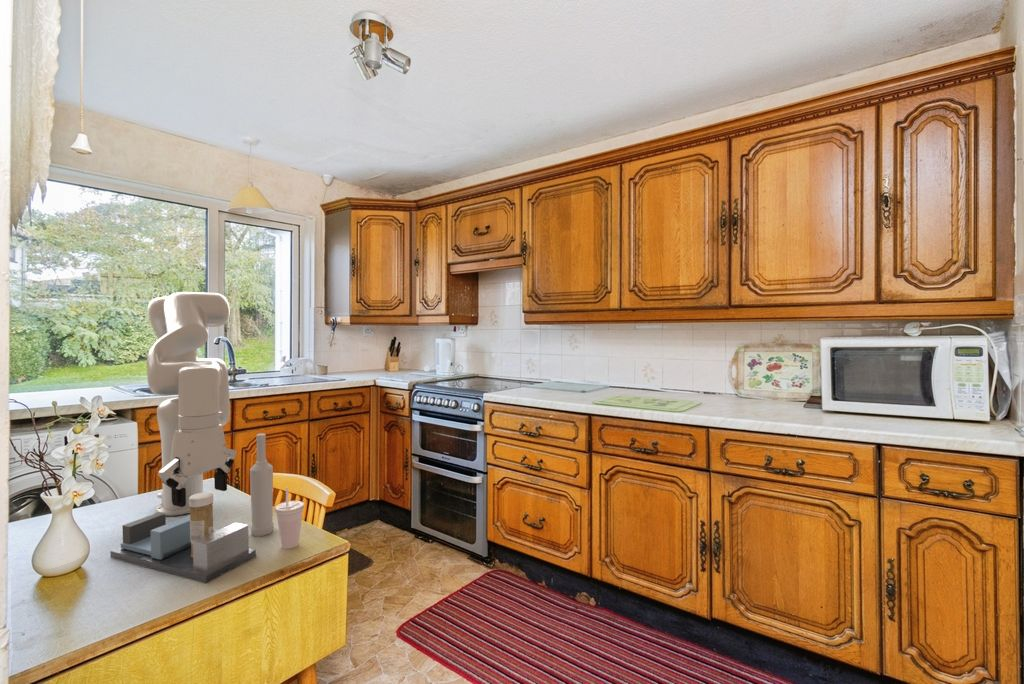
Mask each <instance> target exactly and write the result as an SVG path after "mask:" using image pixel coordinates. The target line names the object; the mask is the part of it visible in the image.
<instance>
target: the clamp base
mask: <svg viewBox="0 0 1024 684" xmlns="http://www.w3.org/2000/svg"><path fill="white" fill-rule="evenodd" d="M249 536H250V535H249V524H245V523H241V522H233V523H230V524H228V525H226V526H223V527H221V528H219V529H217V530H215V531H214V532H212V533H210V534H208V535H205V536H203V537H201V538H199V539H196V540H194V541H193V558H192V557H191V546H190V547H188V548H186V549H183V550H181V551H179V552H177V553H175V554H172V555H170V556H168V557H166V558H163V559H161V560H160V559H156V558H152V557H151V555H147V554H143V553H139V552H135V551H131V550H127V549H123V548H121V546H120V547H117V548H114V549H111V550H110V551H109V552H110V555H109V556H110V558H111V559H115V560H118V561H123V562H127V563H131V564H133V565H136V566H137V565H138V566H141V567H145V568H147V569H148V568H149V569H153V570H156V571H159V572H163V573H167V574H170V575H175V576H178V577H182V578H186V579H190V580H193V581H197V582H200V583H205V584H207V583H209V582H212V581H213V580H215V579H217V578H219V577H221V576H222V575H224V574H226V573H228V572H230V571H231V570H234V569H235V568H237V567H240V566H241V565H242V564H243V565H244V564H245V563H246V562H248V561H250V560H253V558H256V557H257V550H256V549H253V548H250V547H249V546H250V543H249V541H250V540H249V539H250V537H249Z"/></svg>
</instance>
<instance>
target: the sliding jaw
mask: <svg viewBox="0 0 1024 684" xmlns="http://www.w3.org/2000/svg"><path fill="white" fill-rule="evenodd" d="M166 519H167V517H166V514H164V513H159V512H158V513H154V514H151V515H150V514H149V515H148V516H144V517H142V518H138V519H137V520H133V521H130V522H128V523H125V524H122V542H120V547H121V548H123V549H127V550H131V551H135V552H139V553H143V554H147V555H151V557H152V558H156V559H160V560H161V559H163V558H166V557H168V556H170V555H172V554H175V553H177V552H179V551H181V550H183V549H186V548H188V547H190V546H191V540H190V514H189V515H187V516H184V517H182V518H179V519H177V520H173V521H171V522H169V523H166V522H167V520H166Z"/></svg>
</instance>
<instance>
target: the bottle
mask: <svg viewBox="0 0 1024 684" xmlns="http://www.w3.org/2000/svg"><path fill="white" fill-rule="evenodd" d="M266 436H267V435H266V433H257V434H256V437H255V438H256V440H255V441H256V461H255V464H253V466H251V468H250V469H249V476H250V477H249V478H250V479H249V480H250V507H251V508H250V509H251V526H250V532H251V535H252V536H253V537H264V536H267V535H270V534H272V533H273V531H274V526H275V524H274V521H273V518H274V517H273V512H274V511H273V507H274V506H273V505H274V501H273V500H274V496H273V494H274V488H273V487H274V485H273V483H274V466H273V465H272V464H270V463H269V462H268V460H267V456H266V455H267V454H266V453H267V452H266V449H267V447H266V445H267V444H266V442H267V441H266V439H267V438H266Z"/></svg>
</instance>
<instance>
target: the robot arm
mask: <svg viewBox="0 0 1024 684" xmlns="http://www.w3.org/2000/svg"><path fill="white" fill-rule="evenodd" d="M147 307H148V308H147V309H148V310H147V311H148V318H149V322H150V324H151V327H152V330H153V332H154V333H155V335H156V337H157V340H156V341H155V343H154V344H152V346H151V347H150V349H149V351H148V353H147V357H146V373H147V384H148V387H149V390H150V391H151V392H152V393H153V394H154V395H156V396H159V397H163V396H164V397H165V396H168V397H169V396H177V397H173V398H169V399H166V400H163V401H162V402H161V403H159V404H158V406H157V408H156V419H157V424H158V429H159V434H160V445H161V469H160V470H159V471H158V472H157V475H158V477H159V478H160V479H161V481H162V492H158V494H156V495H157V496H156V497H157V498H158V499H161V503H159V505H157V506H156V508H155V511H156V513H158V512H159V513H164V514H166V516H167V517H168V516H170V517H171V516H173V517H174V516H180V515H181V516H182V515H187V514H190V506H189V497H190V496H192V495H194V494H198V493H203V492H204V473H208V472H212V471H214V470H216V471H215V472H214V490H215V491H216V490H217V491H222V492H225V491H227V490H228V473H230V472H231V467H232V465H234V462H235V461H234V460H235V458H236V455H237V453H238V452H237V450H236V449H232V448H229V447H227V445H226V438H225V432H224V428H223V426H226V425H227V424H228V423H229V421H230V418H231V403H230V401H231V399H230V387H229V386H230V385H229V373H228V372H229V371H228V367H227V364H226V363H225V361H224V360H223V359H221V358H215V357H206V358H203V357H202V358H199V356H198V349H199V348H201V347H202V346H204V345H205V344H206V343H207V342H208V339H209V331H208V328H215V327H216V328H217V327H220V326H224V325H225V324H227V322H228V321H229V319H230V314H231V313H230V312H231V311H230V310H231V309H230V304H229V301H228V299H227V298H226V297H225V295H222V294H221V293H217V292H197V291H196V292H194V291H179V292H174V293H171V294H170V295H168V296H161V297H156V298H153V299H151V300H150V301H149V303H148V306H147ZM156 513H155V514H156Z"/></svg>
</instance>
